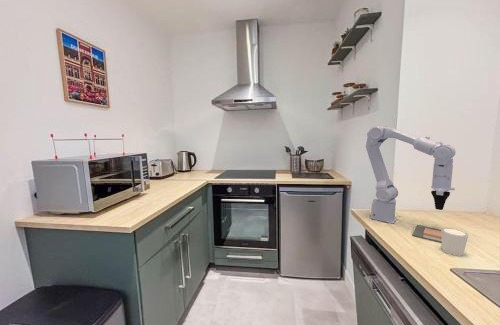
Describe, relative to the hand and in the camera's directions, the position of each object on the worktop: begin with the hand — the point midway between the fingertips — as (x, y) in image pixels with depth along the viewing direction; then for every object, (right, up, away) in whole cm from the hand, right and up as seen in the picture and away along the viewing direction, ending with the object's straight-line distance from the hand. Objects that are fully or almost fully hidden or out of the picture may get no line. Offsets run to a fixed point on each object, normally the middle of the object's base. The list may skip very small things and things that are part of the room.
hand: (439, 209), depth 91 cm
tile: (-3, -9, -2) cm, 9 cm away
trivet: (-3, -10, -1) cm, 11 cm away
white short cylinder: (-6, -12, -13) cm, 19 cm away
